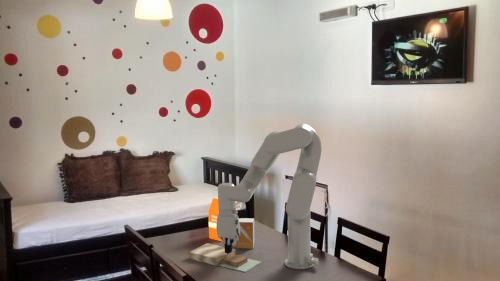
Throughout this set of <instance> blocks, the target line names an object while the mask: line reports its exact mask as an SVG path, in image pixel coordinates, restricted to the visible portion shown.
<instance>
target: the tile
mask: <svg viewBox="0 0 500 281" xmlns="http://www.w3.org/2000/svg"><path fill="white" fill-rule="evenodd" d="M248 259H249V258H248V257H247V256H243V255H238V254H236V255H234V254H229V255H227V256H225V257H224V258H222V259H221V263H222V264H226V265H230V266H234V267H240V266H242V265H243V264H245V263H247V262H248Z"/></svg>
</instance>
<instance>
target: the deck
mask: <svg viewBox="0 0 500 281" xmlns="http://www.w3.org/2000/svg"><path fill="white" fill-rule="evenodd" d="M229 254H234V255H237V254H236V249H235V248H232V252H231V253H229ZM229 254H227V253H225V246H222V245H219V244H214V243H210V242H209V243H205V244H203V245H200V246H199V247H197V248H195V249H192V250H191V251H189V255H188V256H189V260H193V261H197V262H200V263H205V264H208V265H213V266H215V267H216V266H217V267H220V264H222V263H221V259H222V258H224V257H225V256H227V255H229Z"/></svg>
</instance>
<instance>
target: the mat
mask: <svg viewBox="0 0 500 281" xmlns="http://www.w3.org/2000/svg"><path fill="white" fill-rule="evenodd" d="M261 263H262V261H261V260H260V261H259V260H255V259H253V258H252V259H251V258H248V262H247V263H245V264H243V265H242V266H240V267H234V266H230V265H226V264H220V265H219V267H223V268H228V269H230V270H231V269H232V270H235V271H239V272H243V273H247V272H249V271H250V270H252V269H254V268H255V267H256V266H258V265H260V264H261Z"/></svg>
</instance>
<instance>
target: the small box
mask: <svg viewBox="0 0 500 281" xmlns="http://www.w3.org/2000/svg"><path fill="white" fill-rule="evenodd" d="M238 218H239V217H238ZM239 224H240V236H239V237H238V238H239V241H237V242H236V249H251V250H252V249H254V247H255V218H254V217H253V218H251V217H250V218H247V217H245V218H244V217H241V218H239Z"/></svg>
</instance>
